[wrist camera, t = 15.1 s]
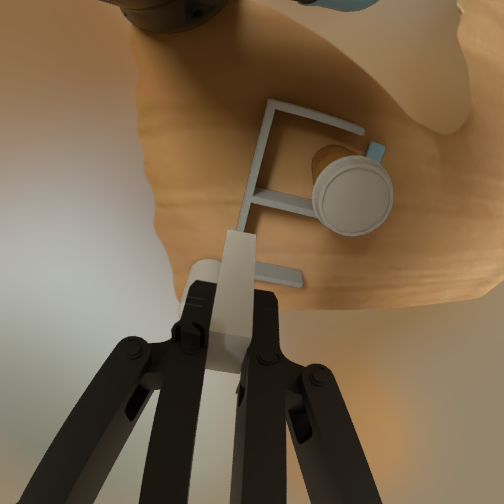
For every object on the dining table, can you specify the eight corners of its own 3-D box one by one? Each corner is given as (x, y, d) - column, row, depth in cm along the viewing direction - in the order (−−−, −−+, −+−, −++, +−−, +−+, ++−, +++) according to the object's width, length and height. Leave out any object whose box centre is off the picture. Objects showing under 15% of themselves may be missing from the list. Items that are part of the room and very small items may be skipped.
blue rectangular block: (370, 140, 35) (372, 141, 35) (384, 145, 36) (386, 146, 35) (345, 206, 42) (346, 207, 41) (358, 210, 42) (359, 211, 41)
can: (214, 248, 47) (202, 300, 37) (241, 277, 50) (236, 330, 41) (182, 267, 50) (165, 318, 40) (208, 294, 53) (198, 345, 43)
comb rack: (268, 97, 33) (269, 99, 30) (356, 124, 34) (365, 129, 31) (228, 260, 48) (226, 273, 45) (299, 274, 49) (301, 288, 47)
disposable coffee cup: (305, 200, 41) (318, 246, 32) (295, 138, 36) (308, 165, 26) (365, 191, 40) (395, 233, 30) (361, 130, 35) (397, 155, 25)
